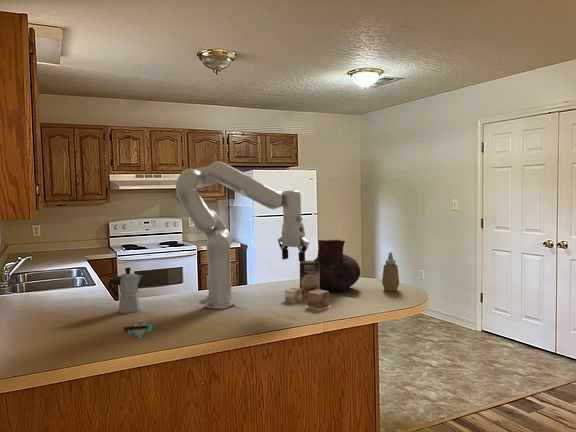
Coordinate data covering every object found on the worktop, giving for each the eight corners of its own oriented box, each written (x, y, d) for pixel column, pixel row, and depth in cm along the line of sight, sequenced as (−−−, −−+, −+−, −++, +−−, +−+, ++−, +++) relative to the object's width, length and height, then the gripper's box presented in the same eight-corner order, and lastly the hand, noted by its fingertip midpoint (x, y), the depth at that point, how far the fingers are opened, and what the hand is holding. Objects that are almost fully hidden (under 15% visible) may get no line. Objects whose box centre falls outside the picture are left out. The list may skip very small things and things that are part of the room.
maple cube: (293, 303, 194) (293, 291, 194) (285, 301, 198) (284, 289, 198) (301, 300, 198) (301, 289, 198) (293, 299, 201) (293, 287, 201)
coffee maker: (139, 306, 199) (137, 264, 198) (149, 309, 193) (147, 266, 191) (104, 313, 188) (102, 269, 187) (114, 317, 182) (112, 272, 181)
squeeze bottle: (401, 292, 216) (401, 253, 215) (383, 292, 216) (383, 253, 215) (397, 288, 224) (397, 251, 223) (380, 288, 224) (380, 251, 223)
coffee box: (299, 298, 207) (298, 262, 206) (300, 294, 214) (299, 260, 213) (319, 298, 206) (319, 262, 205) (320, 295, 213) (319, 260, 212)
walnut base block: (319, 309, 184) (319, 294, 184) (308, 306, 188) (307, 291, 188) (329, 306, 188) (328, 291, 188) (317, 303, 192) (317, 289, 192)
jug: (366, 285, 230) (366, 235, 229) (351, 297, 208) (350, 241, 206) (319, 281, 241) (319, 234, 239) (300, 292, 218) (299, 239, 217)
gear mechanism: (122, 341, 155) (151, 338, 158) (122, 326, 155) (151, 323, 158) (125, 324, 174) (151, 322, 177) (124, 310, 174) (150, 308, 177)
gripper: (313, 219, 192) (314, 260, 193) (283, 218, 204) (285, 257, 205) (301, 221, 187) (302, 263, 188) (271, 219, 199) (272, 259, 200)
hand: (293, 260), depth 197 cm, fingers open, 9 cm apart
